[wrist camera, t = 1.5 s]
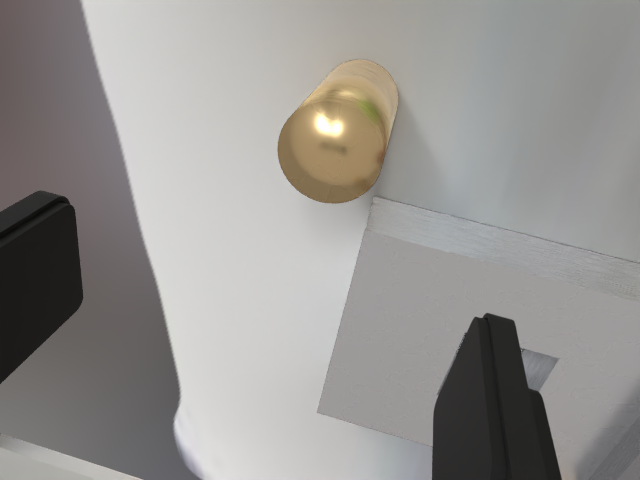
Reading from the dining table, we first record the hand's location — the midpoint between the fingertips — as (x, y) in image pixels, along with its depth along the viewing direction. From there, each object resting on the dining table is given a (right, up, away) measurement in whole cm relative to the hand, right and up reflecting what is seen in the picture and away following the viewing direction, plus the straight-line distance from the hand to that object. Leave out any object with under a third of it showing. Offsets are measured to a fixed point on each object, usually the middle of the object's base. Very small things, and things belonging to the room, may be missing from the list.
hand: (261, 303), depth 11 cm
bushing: (+3, +9, +14) cm, 17 cm away
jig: (+12, -4, +19) cm, 23 cm away
